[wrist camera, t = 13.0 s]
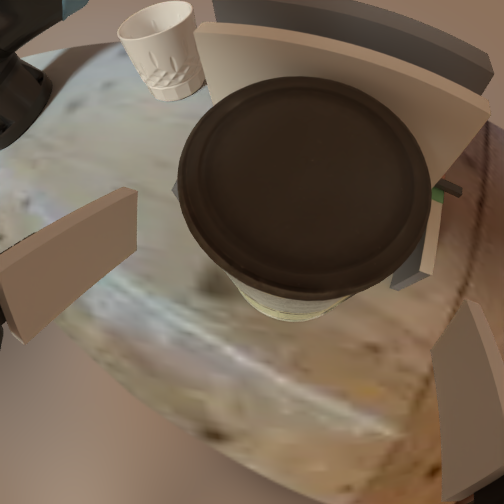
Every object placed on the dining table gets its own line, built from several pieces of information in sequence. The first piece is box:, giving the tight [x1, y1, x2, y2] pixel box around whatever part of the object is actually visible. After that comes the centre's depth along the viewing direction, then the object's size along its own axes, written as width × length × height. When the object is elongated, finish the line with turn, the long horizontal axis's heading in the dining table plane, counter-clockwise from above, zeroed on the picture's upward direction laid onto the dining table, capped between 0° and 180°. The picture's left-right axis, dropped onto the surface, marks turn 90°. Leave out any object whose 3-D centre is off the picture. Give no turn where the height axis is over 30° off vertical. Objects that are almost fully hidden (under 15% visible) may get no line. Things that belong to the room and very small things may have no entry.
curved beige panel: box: [193, 22, 491, 198], centre depth 18 cm, size 1×18×14 cm, turn 69°
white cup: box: [117, 1, 205, 102], centre depth 27 cm, size 8×8×10 cm
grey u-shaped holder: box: [172, 0, 494, 291], centre depth 19 cm, size 13×18×15 cm
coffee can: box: [177, 76, 432, 322], centre depth 18 cm, size 10×10×14 cm
